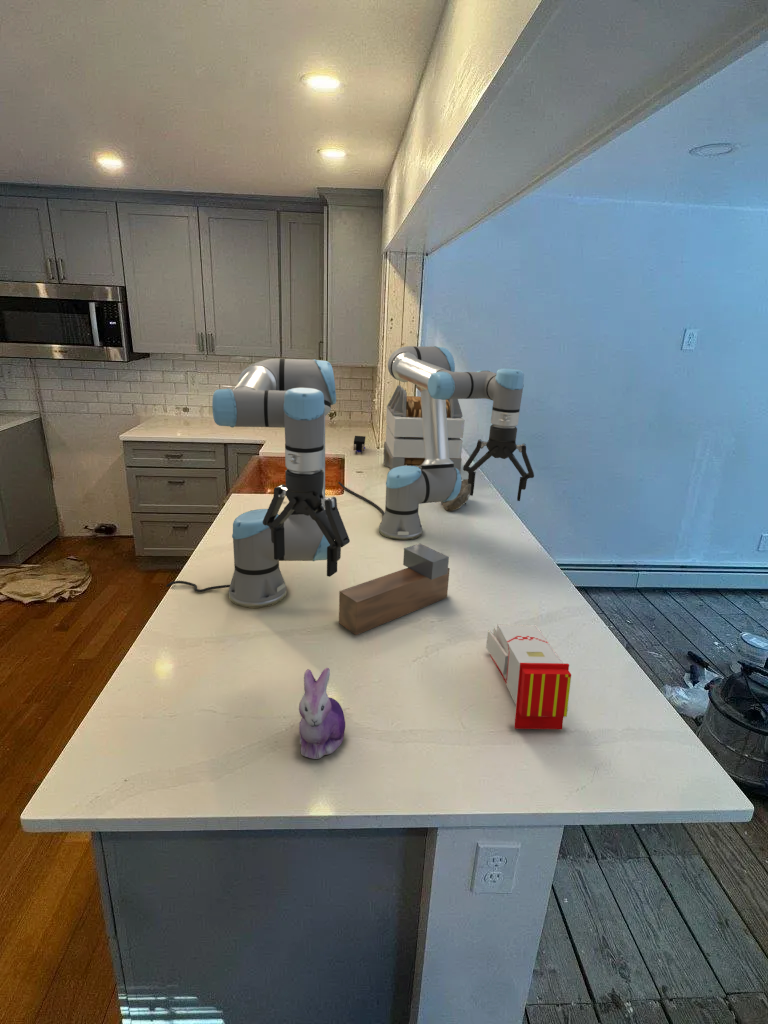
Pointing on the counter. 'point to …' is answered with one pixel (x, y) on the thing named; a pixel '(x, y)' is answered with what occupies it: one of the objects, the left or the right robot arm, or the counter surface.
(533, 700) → the toy
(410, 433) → the transformer
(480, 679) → the counter surface
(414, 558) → the grey block
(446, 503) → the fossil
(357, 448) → the figurine character
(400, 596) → the walnut stand
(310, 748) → the figurine
